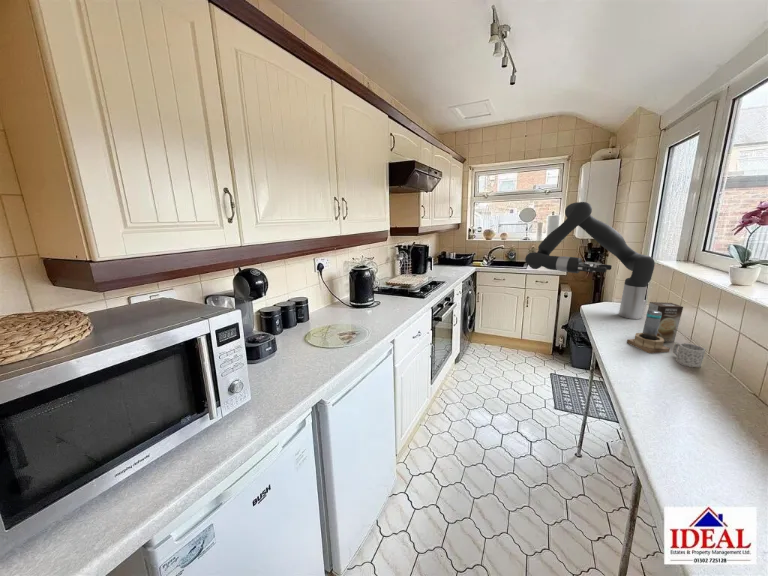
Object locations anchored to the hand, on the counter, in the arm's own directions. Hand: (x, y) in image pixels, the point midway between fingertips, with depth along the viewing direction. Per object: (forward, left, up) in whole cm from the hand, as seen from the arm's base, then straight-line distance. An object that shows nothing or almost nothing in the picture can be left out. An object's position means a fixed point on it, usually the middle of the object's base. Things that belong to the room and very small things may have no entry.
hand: (608, 268), depth 134 cm
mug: (-9, +31, -30) cm, 44 cm away
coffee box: (-19, +12, -30) cm, 37 cm away
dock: (-6, +18, -30) cm, 36 cm away
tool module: (-6, +18, -29) cm, 35 cm away
